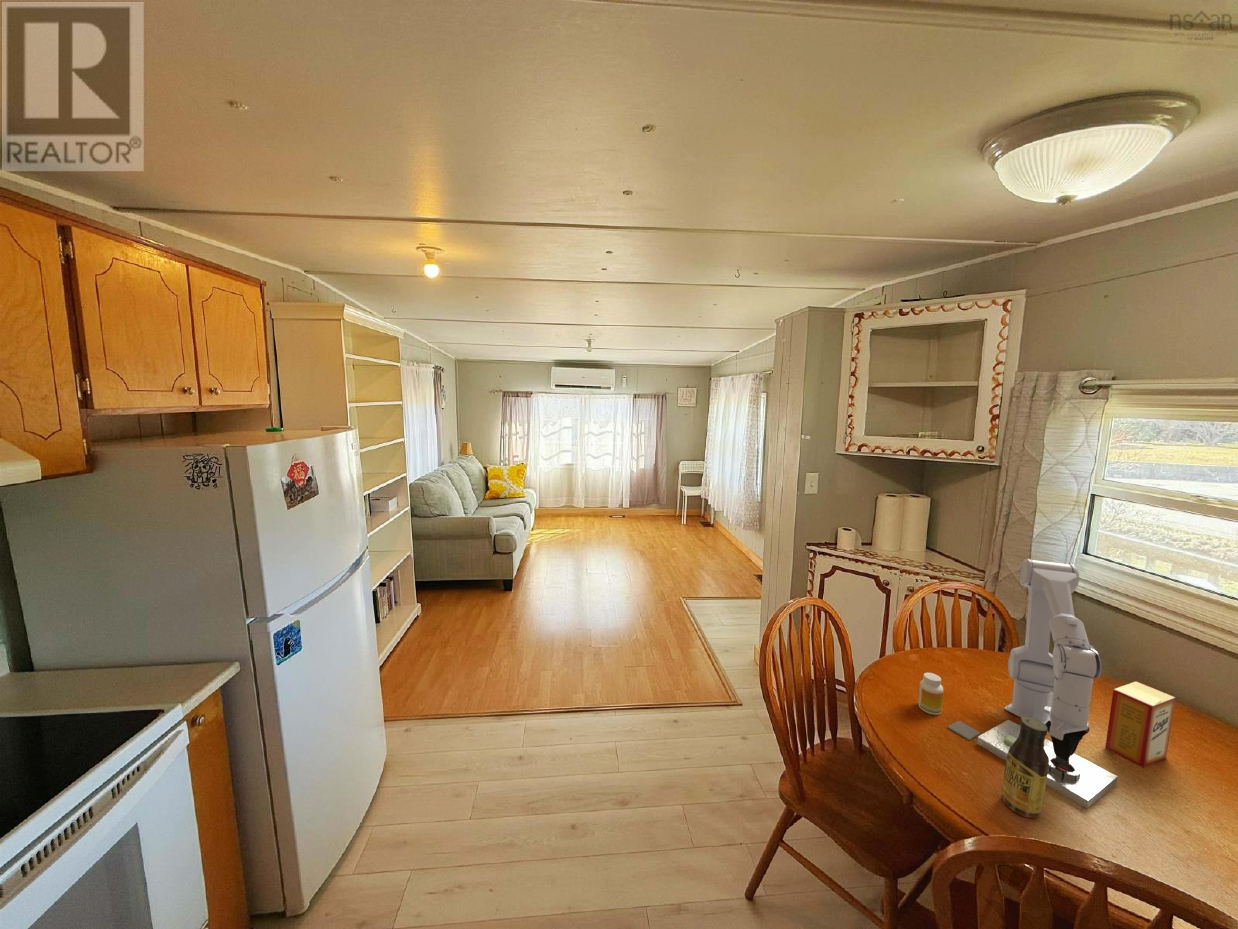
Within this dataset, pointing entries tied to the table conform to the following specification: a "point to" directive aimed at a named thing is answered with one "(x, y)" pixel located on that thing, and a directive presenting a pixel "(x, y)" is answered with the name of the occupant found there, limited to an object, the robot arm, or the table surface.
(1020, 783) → the sauce bottle
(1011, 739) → the pad
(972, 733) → the pad
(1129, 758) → the baking soda box
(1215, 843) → the table surface
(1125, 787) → the table surface
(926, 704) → the supplement bottle
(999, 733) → the panel
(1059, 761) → the dark grey cylinder
